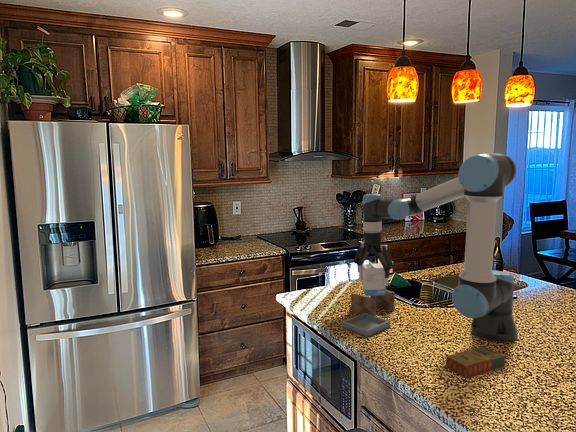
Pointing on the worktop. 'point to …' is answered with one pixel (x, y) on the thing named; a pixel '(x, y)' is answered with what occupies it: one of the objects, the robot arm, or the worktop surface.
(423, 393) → the worktop surface
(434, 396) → the worktop surface
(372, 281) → the ink box
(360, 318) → the tray
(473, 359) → the carton
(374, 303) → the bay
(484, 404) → the worktop surface
